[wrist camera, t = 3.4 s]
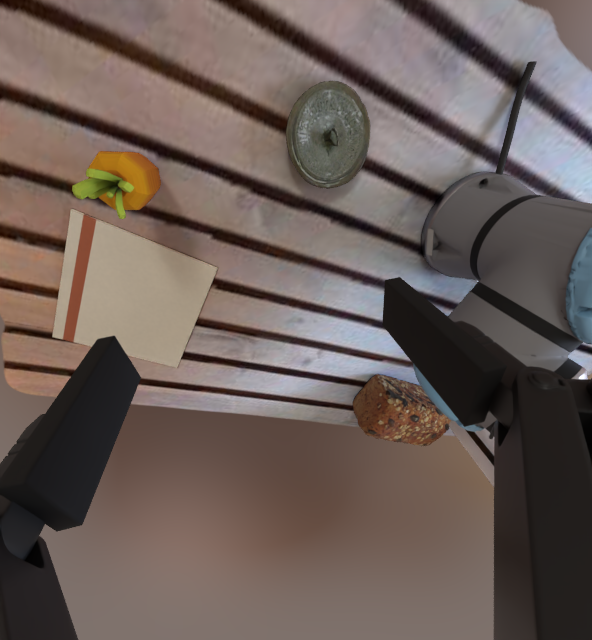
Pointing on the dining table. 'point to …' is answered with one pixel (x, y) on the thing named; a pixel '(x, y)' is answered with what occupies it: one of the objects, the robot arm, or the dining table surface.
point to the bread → (398, 412)
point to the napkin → (128, 291)
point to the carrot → (120, 181)
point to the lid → (328, 134)
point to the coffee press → (477, 448)
